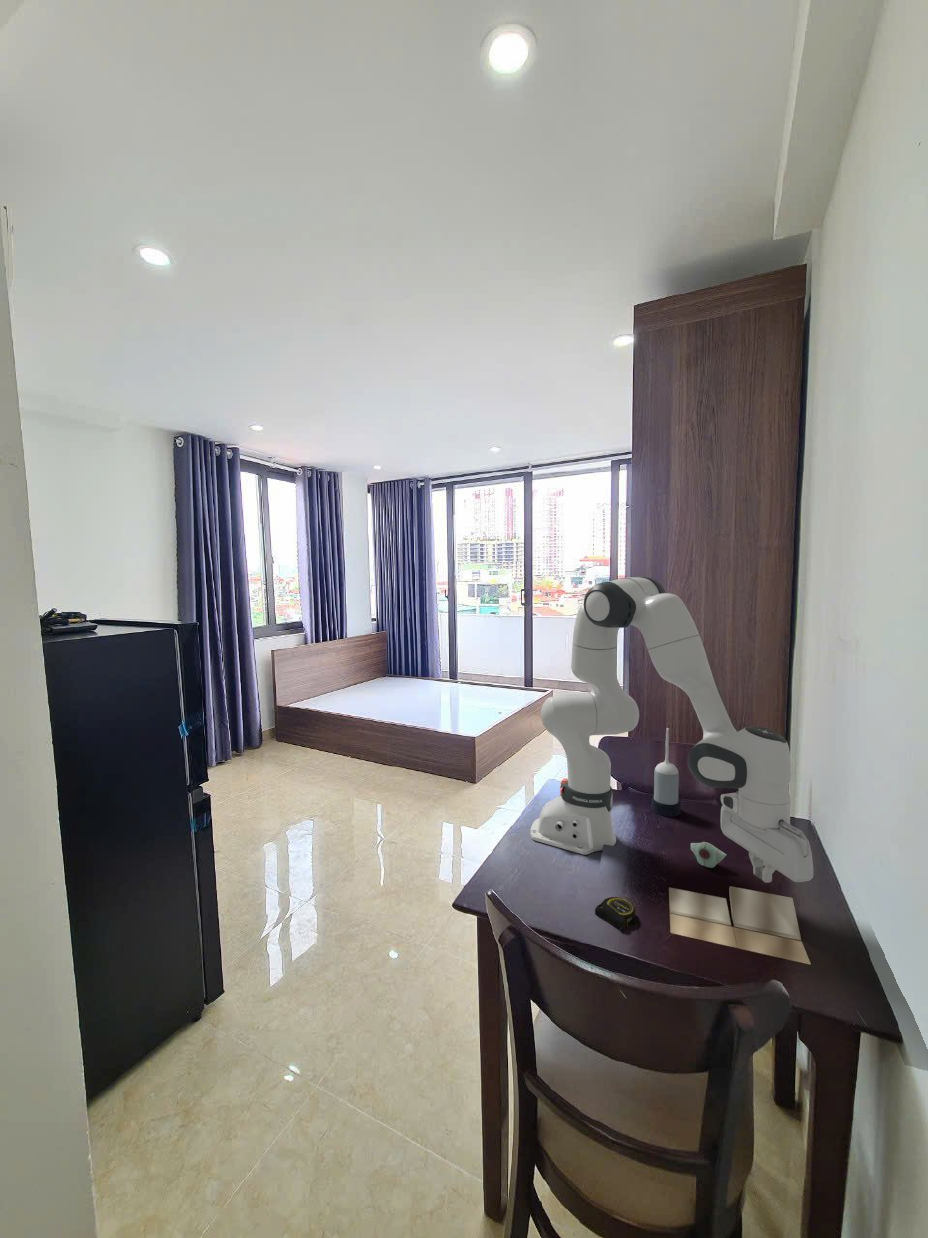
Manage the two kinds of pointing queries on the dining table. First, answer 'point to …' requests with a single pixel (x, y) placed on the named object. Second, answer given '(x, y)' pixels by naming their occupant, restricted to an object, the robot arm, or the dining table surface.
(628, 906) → the tape measure
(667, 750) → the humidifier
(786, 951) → the laid strip
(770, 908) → the plank
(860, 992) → the dining table surface
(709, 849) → the pale green lumpy piece
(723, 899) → the plank
